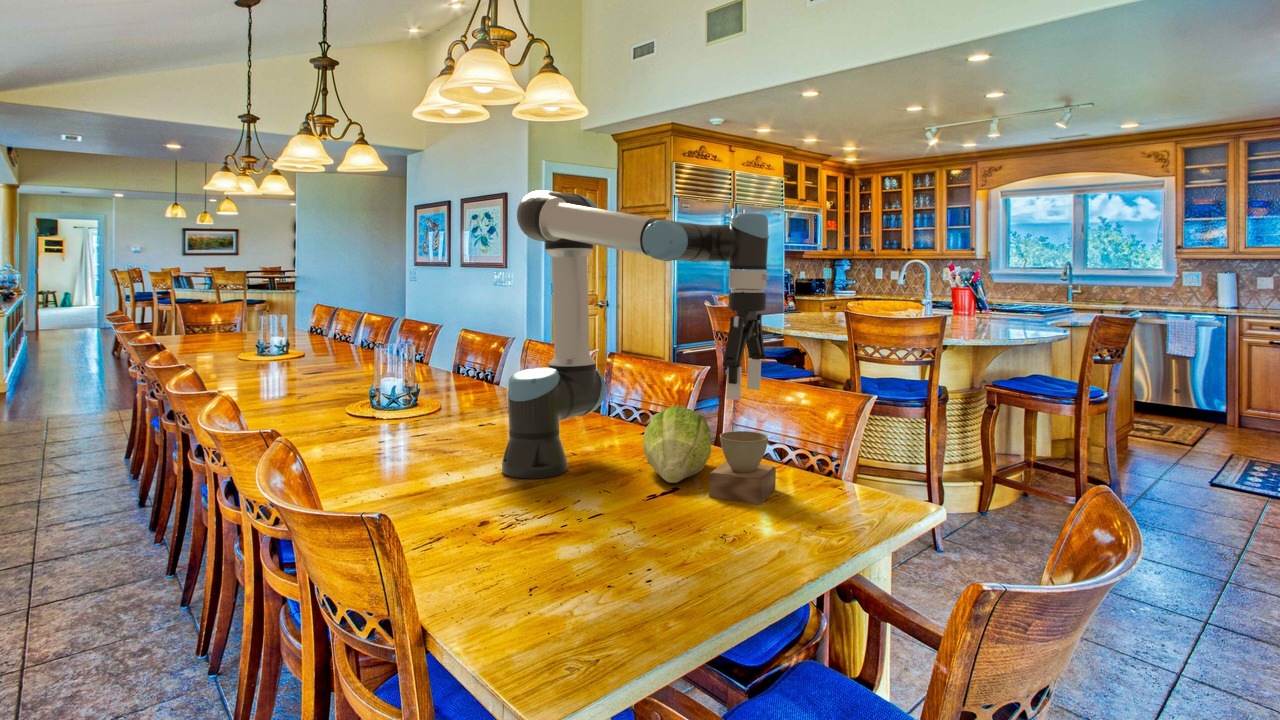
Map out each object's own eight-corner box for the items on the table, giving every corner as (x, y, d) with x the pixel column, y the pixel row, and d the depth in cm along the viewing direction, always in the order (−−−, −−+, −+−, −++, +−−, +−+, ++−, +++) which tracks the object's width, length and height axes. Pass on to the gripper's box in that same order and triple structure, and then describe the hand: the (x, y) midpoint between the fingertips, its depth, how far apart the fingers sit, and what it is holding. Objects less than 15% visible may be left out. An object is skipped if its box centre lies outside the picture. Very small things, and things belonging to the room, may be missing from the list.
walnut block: (709, 496, 145) (709, 472, 144) (726, 482, 154) (726, 459, 154) (760, 504, 140) (761, 479, 139) (775, 489, 150) (775, 465, 149)
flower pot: (767, 464, 150) (768, 431, 149) (766, 477, 141) (767, 442, 140) (721, 461, 152) (722, 429, 151) (717, 474, 143) (717, 440, 142)
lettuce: (710, 509, 151) (639, 513, 155) (716, 445, 173) (654, 450, 176) (700, 453, 145) (626, 458, 148) (707, 394, 166) (643, 400, 170)
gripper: (746, 293, 129) (743, 406, 132) (781, 290, 151) (777, 386, 154) (708, 292, 132) (705, 402, 135) (747, 289, 155) (744, 384, 157)
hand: (743, 394), depth 145 cm, fingers open, 13 cm apart
